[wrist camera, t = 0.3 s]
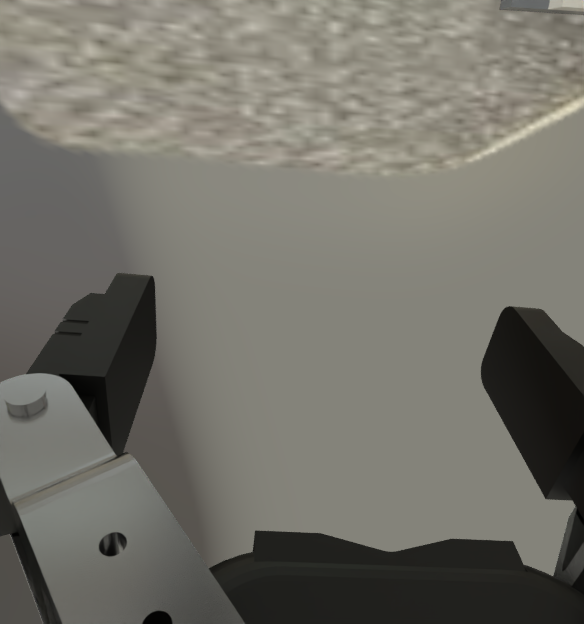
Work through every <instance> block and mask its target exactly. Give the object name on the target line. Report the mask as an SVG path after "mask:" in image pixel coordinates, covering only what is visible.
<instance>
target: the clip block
mask: <svg viewBox="0 0 584 624" xmlns="http://www.w3.org/2000/svg"><path fill="white" fill-rule="evenodd" d="M500 10H514V11H530V12H545V13H561V14H576V15H584V0H501V5H500Z"/></svg>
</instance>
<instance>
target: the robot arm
mask: <svg viewBox="0 0 584 624" xmlns="http://www.w3.org/2000/svg"><path fill="white" fill-rule="evenodd" d="M156 339H157V334H156V304H155V282H154V278H153V276H148V275H136V274H124V273H118V274H116V276H115V278H114V279H113V281H112V283H111V284H110V286H109V288H108V290H107V291H106V293H105V294H95V293H90V294H89V295H87V296H86V297H84V298H82V299H81V300H79V301H78V302H76V303H74V304H73V305H72V306H71V308H70V309H69V311H68V312H67V314H66V315H65V317H64V318H63V322H61V323H60V324H59V326H58V327H57V329H56V330H55V334H53V335H52V336H51V338H50V339H49V341H48V342H47V344H46V345H45V346H44V348H43V349H42V351H41V353H40V354H39V355H38V357H37V358H36V360H35V362H34V363H33V365H32V366H31V367H30V369H29V370H28V372H27V373H26V375H21V376H17V377H13V378H10V379H7V380H5V381H3V382H1V383H0V536H3V535H7V534H10V536H11V539H12V541H13V544H14V547H15V549H16V552H17V555H18V557H19V560H20V563H21V565H22V568H23V571H24V574H25V576H26V579H27V582H28V584H29V587H30V590H31V592H32V595H33V598H34V600H35V603H36V606H37V609H38V611H39V614H40V616H41V619H42V622H43V624H584V347H583V346H582V345H581V344H580V343H578V342H577V341H575V340H573V339H572V338H571V337H569V336H568V335H566V334H565V333H563V332H562V331H561V330H560V328H558V326H557V325H556V324H555V323H554V322H553V321H552V319H551V318H550V317H549V316H548V315H547V314H546V313H545V312H544V311H543V310H541V309H535V308H523V307H510V306H509V307H506V308H505V309H504V310H503V311H502V312H501V314H500V316H499V319H498V321H497V324H496V327H495V329H494V332H493V334H492V337H491V340H490V342H489V345H488V348H487V350H486V353H485V355H484V358H483V361H482V366H481V379H482V383H483V386H484V388H485V390H486V392H487V393H488V395H489V397H490V399H491V401H492V402H493V404H494V406H495V408H496V410H497V412H498V413H499V415H500V417H501V419H502V421H503V422H504V424H505V426H506V428H507V430H508V431H509V433H510V435H511V437H512V439H513V441H514V442H515V444H516V446H517V448H518V450H519V451H520V453H521V455H522V457H523V459H524V460H525V462H526V464H527V466H528V468H529V470H530V471H531V473H532V475H533V477H534V479H535V480H536V482H537V484H538V486H539V488H540V489H541V491H542V493H543V495H544V497H545V499H555V500H573V502H574V504H575V505H576V506H575V508H574V509H573V511H572V512H571V514H570V516H569V518H568V521H567V525H566V529H565V533H564V537H563V541H562V544H561V548H560V552H559V556H558V560H557V563H556V567H555V571H554V575H553V576H551V575H549V574H547V573H545V572H542V571H539V570H537V569H534V568H532V567H529V566H526V565H523V563H522V561H521V558H520V556H519V554H518V551H517V549H516V547H515V545H514V543H513V541H492V540H468V539H449V540H444V541H440V542H436V543H431V544H427V545H423V546H419V547H414V548H410V549H405V550H401V551H396V552H386V551H382V550H379V549H375V548H371V547H368V546H364V545H360V544H357V543H353V542H349V541H346V540H343V539H339V538H335V537H332V536H328V535H324V534H321V533H300V532H275V531H255V536H254V545H253V552H251V553H246V554H243V555H239V556H236V557H234V558H231V559H228V560H225V561H222V562H220V563H219V564H216V565H214V566H212V567H210V568H208V567H207V566H206V564H205V563H204V561H203V560H202V558H201V557H200V555H199V554H198V552H197V551H196V549H195V548H194V546H193V545H192V543H191V542H190V540H189V539H188V537H187V536H186V534H185V533H184V532H183V530H182V528H181V527H180V525H179V524H178V522H177V521H176V519H175V518H174V516H173V515H172V513H171V512H170V511H169V509H168V507H167V506H166V504H165V503H164V501H163V500H162V498H161V497H160V495H159V494H158V492H157V491H156V489H155V488H154V486H153V485H152V483H151V482H150V480H149V479H148V477H147V476H146V474H145V473H144V472H143V470H142V468H141V467H140V465H139V464H138V462H137V461H136V460H135V459H134V457H133V456H132V455H131V454H129V453H123V451H124V448H125V445H126V442H127V439H128V436H129V433H130V430H131V427H132V424H133V421H134V418H135V415H136V412H137V409H138V406H139V403H140V400H141V398H142V395H143V392H144V388H145V386H146V383H147V379H148V377H149V374H150V370H151V368H152V364H153V361H154V357H155V351H156Z"/></svg>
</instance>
